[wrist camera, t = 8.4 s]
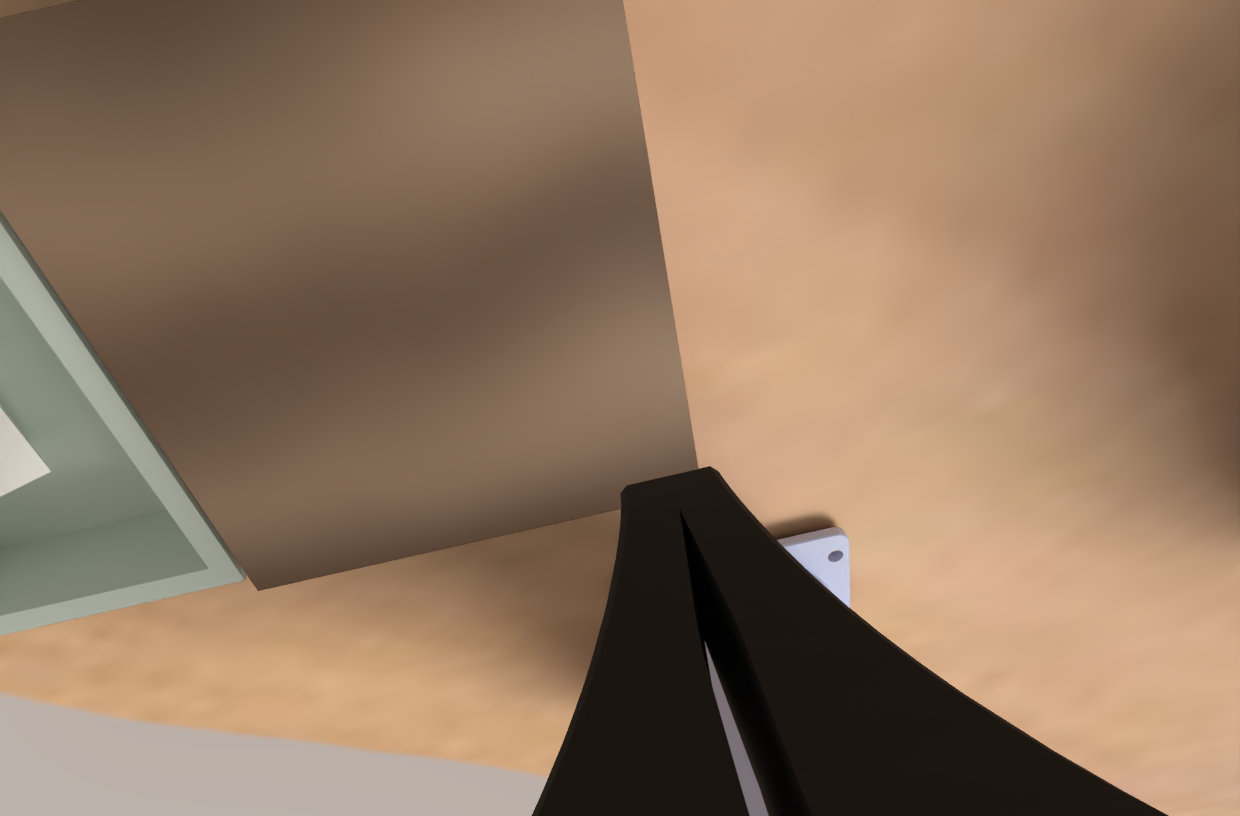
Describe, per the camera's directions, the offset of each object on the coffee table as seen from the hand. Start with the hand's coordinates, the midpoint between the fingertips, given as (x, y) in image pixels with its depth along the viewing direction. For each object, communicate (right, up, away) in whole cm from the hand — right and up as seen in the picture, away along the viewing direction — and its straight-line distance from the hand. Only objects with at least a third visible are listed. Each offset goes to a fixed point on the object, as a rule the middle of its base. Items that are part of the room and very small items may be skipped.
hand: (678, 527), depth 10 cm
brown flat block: (-6, +6, +7) cm, 11 cm away
